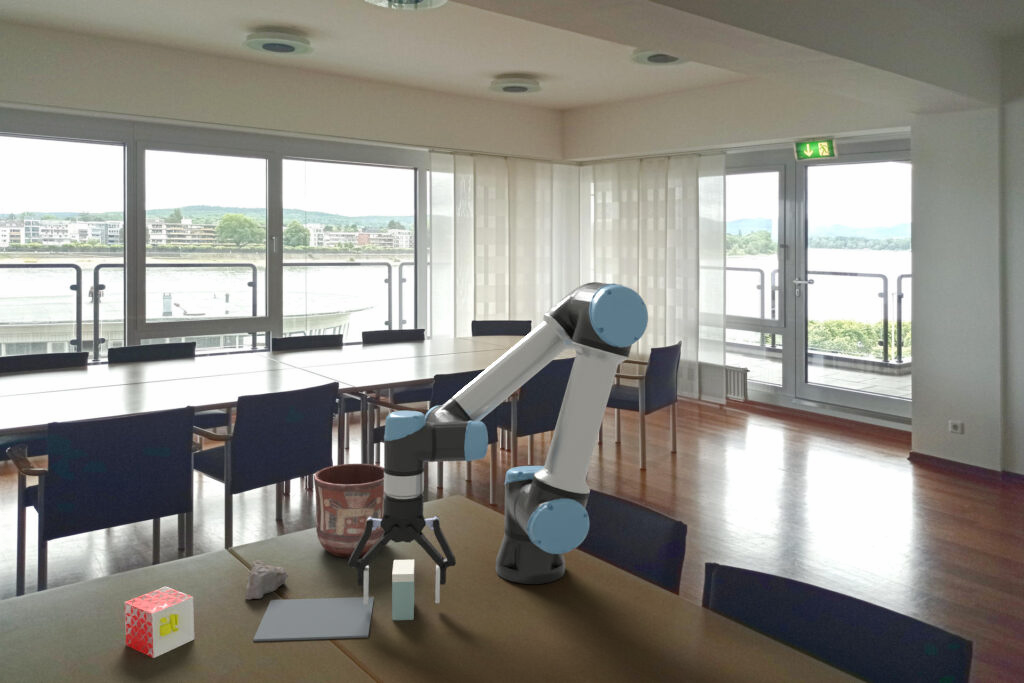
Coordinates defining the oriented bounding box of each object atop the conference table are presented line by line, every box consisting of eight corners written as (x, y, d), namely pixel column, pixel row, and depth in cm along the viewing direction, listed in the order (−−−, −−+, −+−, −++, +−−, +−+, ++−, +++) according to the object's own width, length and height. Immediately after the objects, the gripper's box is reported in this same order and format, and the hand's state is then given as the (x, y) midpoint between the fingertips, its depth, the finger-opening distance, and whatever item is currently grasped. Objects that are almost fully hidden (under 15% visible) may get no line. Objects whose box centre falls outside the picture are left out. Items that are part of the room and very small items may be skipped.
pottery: (299, 546, 185) (299, 471, 183) (364, 529, 197) (364, 459, 194) (338, 570, 172) (338, 489, 170) (405, 550, 184) (406, 475, 182)
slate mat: (373, 598, 157) (373, 596, 157) (368, 637, 142) (368, 635, 142) (270, 601, 155) (270, 599, 155) (253, 641, 139) (253, 639, 139)
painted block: (414, 603, 156) (414, 559, 155) (413, 619, 149) (413, 573, 148) (393, 604, 155) (393, 559, 154) (392, 620, 148) (392, 574, 148)
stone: (277, 601, 156) (277, 573, 155) (236, 601, 156) (235, 573, 155) (290, 581, 166) (289, 554, 165) (251, 581, 165) (250, 554, 165)
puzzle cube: (153, 658, 133) (152, 613, 132) (126, 645, 137) (124, 602, 137) (194, 639, 140) (193, 596, 139) (167, 627, 144) (165, 586, 143)
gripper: (468, 487, 155) (465, 591, 157) (338, 487, 152) (337, 593, 154) (470, 499, 147) (467, 608, 150) (334, 499, 145) (333, 610, 147)
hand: (401, 600), depth 152 cm, fingers open, 13 cm apart
